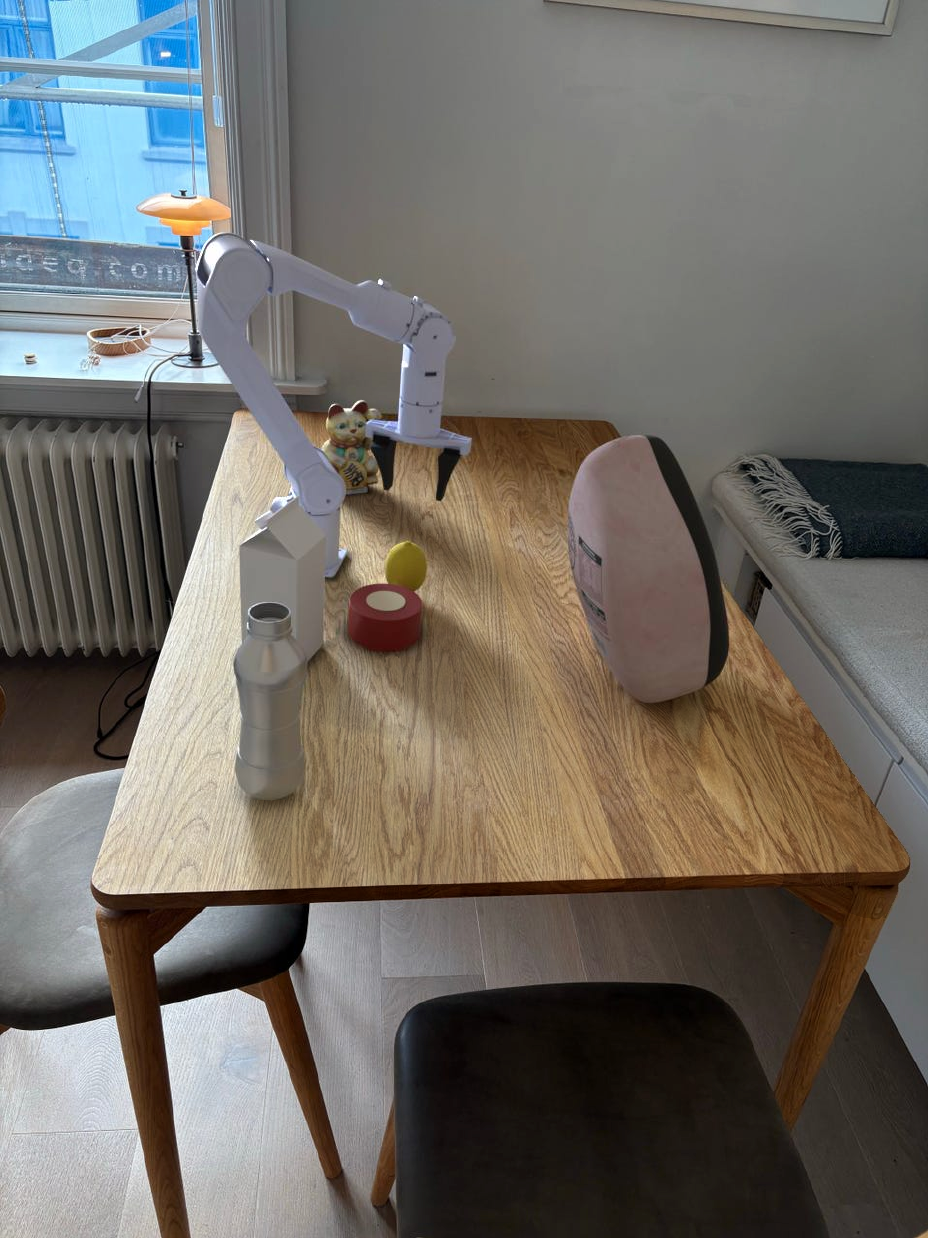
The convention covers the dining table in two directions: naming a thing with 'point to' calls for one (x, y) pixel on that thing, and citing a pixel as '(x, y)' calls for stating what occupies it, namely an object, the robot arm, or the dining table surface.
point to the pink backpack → (646, 570)
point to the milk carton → (286, 571)
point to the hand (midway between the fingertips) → (413, 493)
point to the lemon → (406, 566)
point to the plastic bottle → (270, 704)
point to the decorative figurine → (351, 445)
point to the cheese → (384, 617)
